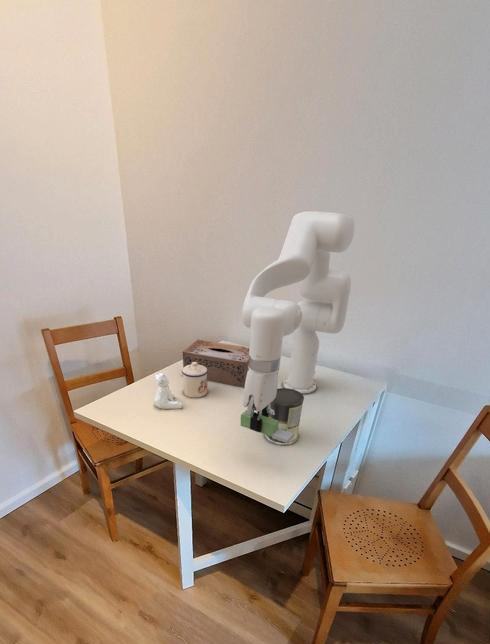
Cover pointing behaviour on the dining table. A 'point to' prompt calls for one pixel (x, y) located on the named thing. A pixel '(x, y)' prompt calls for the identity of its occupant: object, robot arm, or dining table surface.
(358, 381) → the dining table surface
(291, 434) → the green bar grey end
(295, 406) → the coffee can
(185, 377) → the teacup with lid
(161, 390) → the sitting furry creature
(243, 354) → the tissue box cover
